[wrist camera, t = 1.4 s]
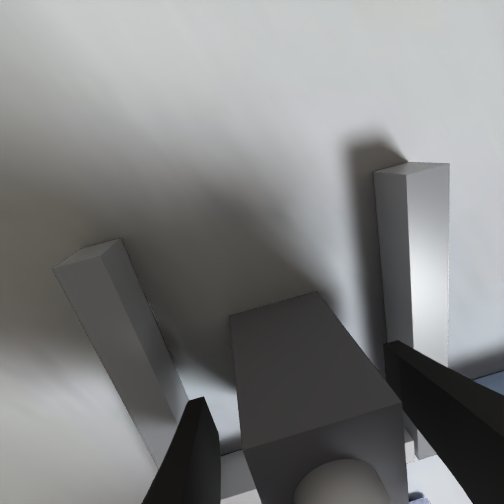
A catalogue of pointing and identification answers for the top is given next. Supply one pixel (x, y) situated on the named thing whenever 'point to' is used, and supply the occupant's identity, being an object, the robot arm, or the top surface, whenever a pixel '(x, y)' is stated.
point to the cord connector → (315, 409)
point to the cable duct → (158, 358)
